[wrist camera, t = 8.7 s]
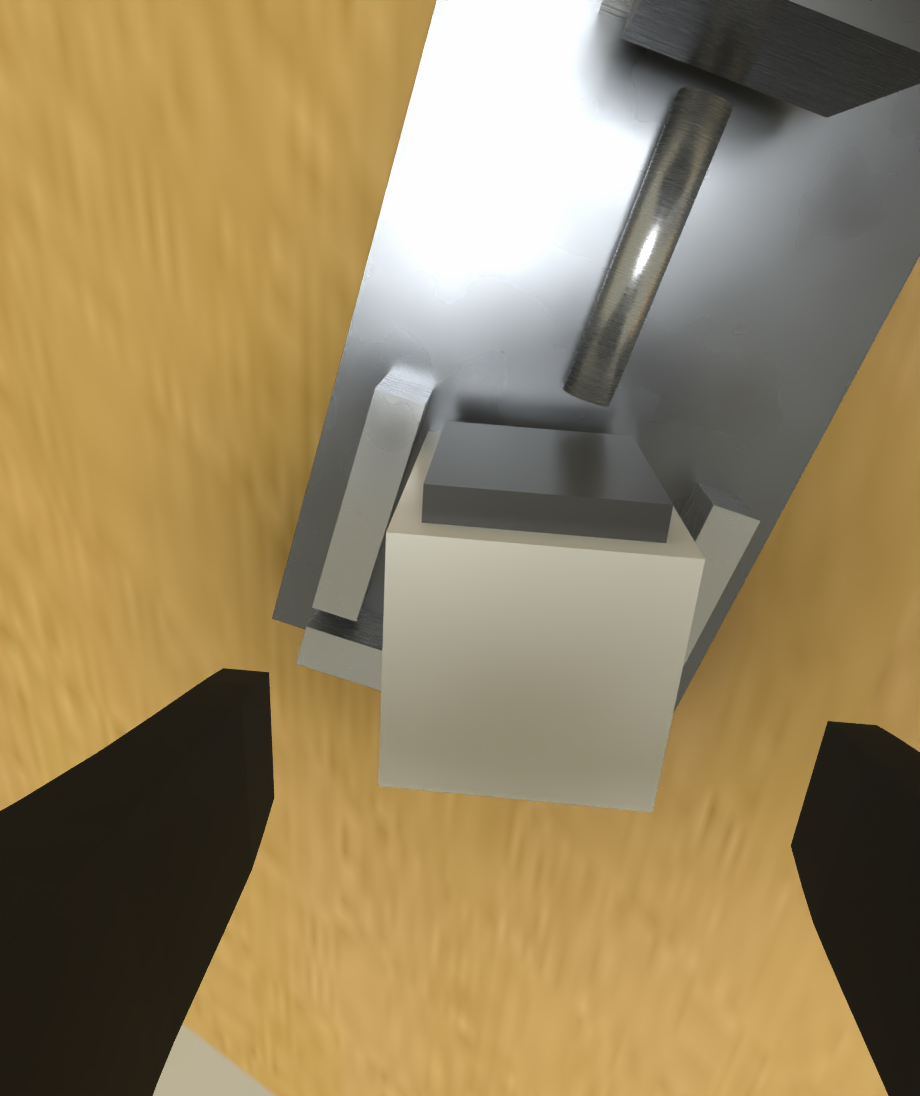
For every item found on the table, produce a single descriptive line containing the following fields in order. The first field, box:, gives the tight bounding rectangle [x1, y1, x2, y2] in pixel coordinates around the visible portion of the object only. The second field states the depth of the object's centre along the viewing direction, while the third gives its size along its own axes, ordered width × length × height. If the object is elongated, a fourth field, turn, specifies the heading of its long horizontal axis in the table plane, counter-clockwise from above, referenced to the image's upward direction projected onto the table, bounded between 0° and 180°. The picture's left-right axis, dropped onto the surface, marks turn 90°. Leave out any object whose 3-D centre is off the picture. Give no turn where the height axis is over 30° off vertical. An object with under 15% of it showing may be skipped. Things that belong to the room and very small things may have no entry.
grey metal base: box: [272, 0, 920, 713], centre depth 13 cm, size 10×20×8 cm, turn 161°
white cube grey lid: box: [378, 421, 705, 812], centre depth 14 cm, size 5×4×6 cm
